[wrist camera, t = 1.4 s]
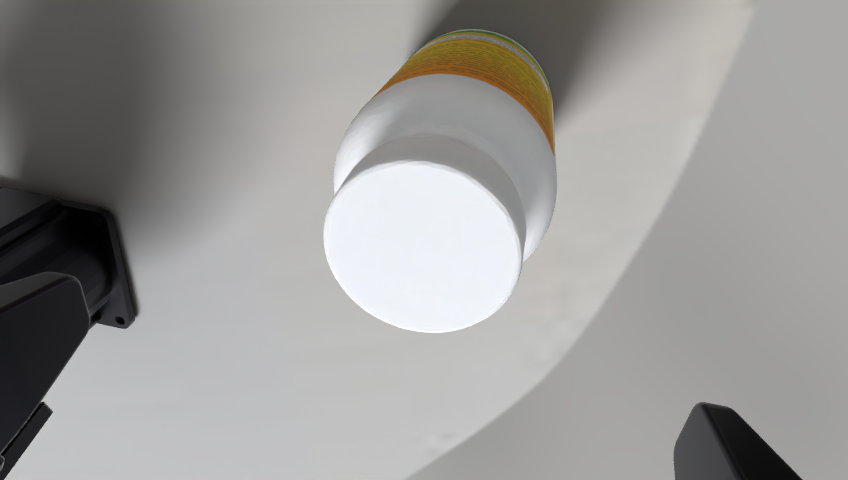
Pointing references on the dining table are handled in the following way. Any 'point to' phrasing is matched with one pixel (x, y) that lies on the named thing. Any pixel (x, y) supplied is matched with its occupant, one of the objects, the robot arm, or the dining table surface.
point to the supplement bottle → (445, 184)
